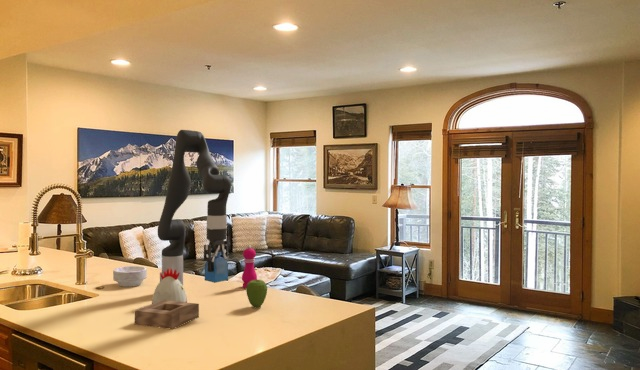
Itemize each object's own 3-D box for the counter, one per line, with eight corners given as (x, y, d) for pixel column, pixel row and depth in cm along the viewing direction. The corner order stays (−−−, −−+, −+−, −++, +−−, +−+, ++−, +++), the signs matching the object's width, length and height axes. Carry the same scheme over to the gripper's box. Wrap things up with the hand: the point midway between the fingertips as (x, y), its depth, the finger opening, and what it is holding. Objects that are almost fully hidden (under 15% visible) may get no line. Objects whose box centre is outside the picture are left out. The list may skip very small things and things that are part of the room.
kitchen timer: (177, 310, 197) (177, 272, 196) (145, 308, 200) (145, 271, 199) (193, 301, 210) (193, 266, 210) (162, 300, 213) (162, 265, 213)
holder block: (134, 324, 178) (134, 310, 178) (163, 312, 193) (163, 300, 193) (172, 329, 172) (172, 314, 172) (198, 317, 188) (198, 303, 187)
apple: (244, 305, 204) (244, 277, 204) (264, 303, 207) (264, 276, 207) (248, 311, 196) (248, 281, 196) (269, 309, 199) (269, 280, 199)
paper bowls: (136, 289, 234) (136, 272, 233) (106, 287, 236) (106, 271, 236) (152, 282, 249) (152, 266, 248) (124, 281, 251) (124, 265, 251)
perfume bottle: (217, 277, 196) (217, 247, 196) (227, 280, 192) (228, 248, 192) (204, 280, 191) (204, 249, 191) (215, 282, 187) (215, 250, 187)
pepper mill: (238, 287, 237) (238, 245, 237) (247, 284, 243) (247, 243, 243) (251, 289, 234) (251, 246, 233) (259, 286, 240) (260, 244, 240)
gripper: (218, 224, 199) (217, 265, 200) (197, 228, 186) (197, 272, 186) (234, 225, 197) (234, 267, 197) (215, 229, 183) (214, 274, 184)
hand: (216, 269), depth 192 cm, fingers closed on perfume bottle, 7 cm apart
